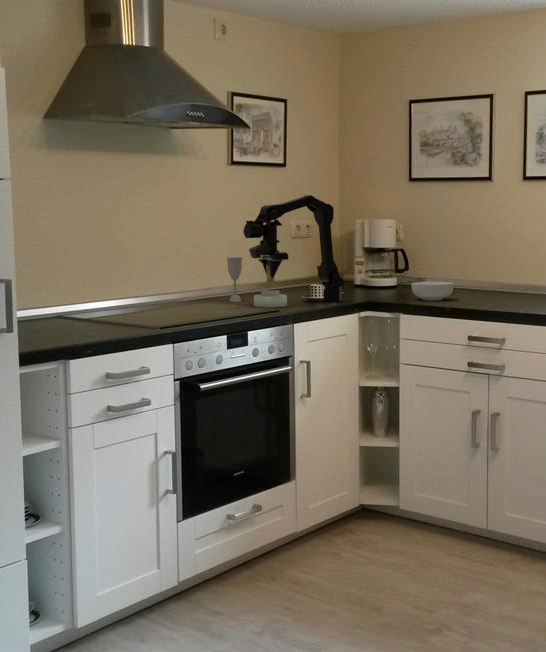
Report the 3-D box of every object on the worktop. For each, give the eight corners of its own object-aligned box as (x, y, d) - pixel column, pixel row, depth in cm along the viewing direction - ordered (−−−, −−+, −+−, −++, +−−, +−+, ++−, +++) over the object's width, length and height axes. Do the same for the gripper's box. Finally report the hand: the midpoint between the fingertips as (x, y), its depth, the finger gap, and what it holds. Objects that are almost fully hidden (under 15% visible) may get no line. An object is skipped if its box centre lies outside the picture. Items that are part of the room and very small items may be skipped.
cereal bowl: (457, 298, 398) (457, 281, 397) (447, 302, 383) (447, 284, 382) (417, 297, 405) (418, 280, 405) (406, 301, 390) (406, 283, 390)
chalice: (241, 301, 395) (240, 257, 393) (225, 301, 396) (224, 257, 394) (245, 300, 402) (244, 257, 400) (229, 299, 403) (228, 257, 401)
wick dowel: (275, 281, 378) (275, 262, 377) (272, 282, 375) (272, 263, 374) (268, 281, 379) (267, 262, 378) (265, 282, 376) (265, 263, 375)
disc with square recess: (291, 304, 382) (291, 289, 381) (280, 307, 370) (280, 292, 369) (260, 303, 386) (260, 289, 385) (249, 306, 374) (249, 292, 373)
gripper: (240, 237, 379) (240, 277, 381) (263, 238, 363) (264, 280, 365) (264, 236, 384) (265, 275, 386) (288, 237, 368) (289, 278, 370)
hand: (270, 277), depth 377 cm, fingers closed on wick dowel, 3 cm apart
